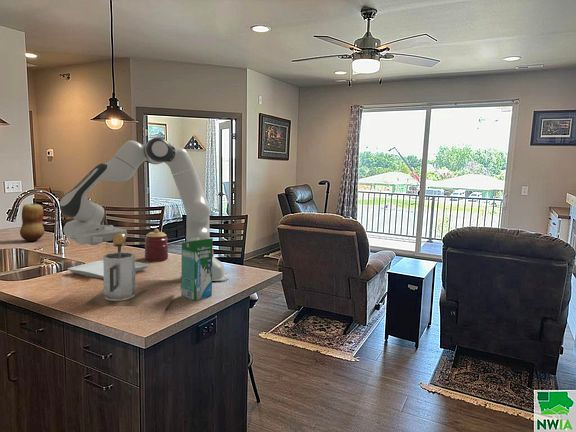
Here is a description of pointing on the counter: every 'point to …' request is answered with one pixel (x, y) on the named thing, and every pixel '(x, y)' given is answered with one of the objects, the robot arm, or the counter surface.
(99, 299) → the brown flat square board
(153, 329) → the counter surface
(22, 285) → the counter surface
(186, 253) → the milk carton
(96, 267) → the square plate
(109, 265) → the press jug
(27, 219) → the butternut squash
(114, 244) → the plunger
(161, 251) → the canister
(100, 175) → the robot arm
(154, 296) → the counter surface
